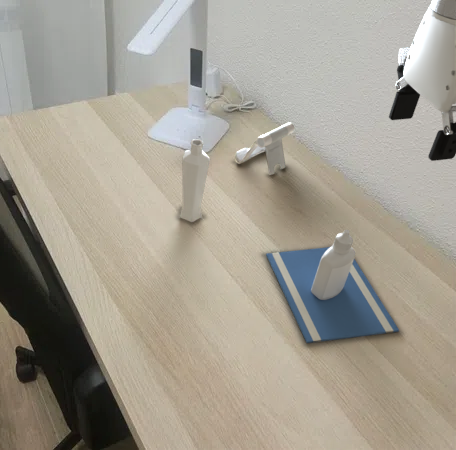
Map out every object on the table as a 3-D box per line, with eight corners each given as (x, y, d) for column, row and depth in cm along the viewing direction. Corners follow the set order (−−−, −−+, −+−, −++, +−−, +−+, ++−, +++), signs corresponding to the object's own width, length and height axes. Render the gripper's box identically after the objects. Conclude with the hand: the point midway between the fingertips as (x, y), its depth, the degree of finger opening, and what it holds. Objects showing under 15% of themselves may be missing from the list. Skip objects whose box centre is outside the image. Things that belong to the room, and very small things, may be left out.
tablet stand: (262, 146, 115) (269, 111, 110) (292, 163, 111) (300, 127, 106) (234, 161, 111) (239, 124, 106) (263, 179, 107) (270, 142, 101)
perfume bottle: (207, 211, 99) (216, 140, 89) (196, 225, 96) (204, 152, 86) (185, 203, 100) (191, 131, 91) (173, 216, 97) (178, 143, 88)
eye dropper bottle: (349, 299, 83) (372, 240, 75) (314, 301, 83) (333, 242, 75) (339, 278, 86) (360, 220, 79) (305, 280, 86) (322, 221, 78)
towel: (345, 247, 93) (346, 245, 92) (398, 331, 79) (399, 329, 79) (265, 255, 91) (266, 253, 90) (306, 343, 77) (307, 341, 77)
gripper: (557, 30, 54) (487, 173, 65) (454, -25, 67) (410, 102, 78) (488, 35, 53) (429, 179, 64) (397, -22, 66) (361, 107, 77)
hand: (419, 137), depth 71 cm, fingers open, 9 cm apart
